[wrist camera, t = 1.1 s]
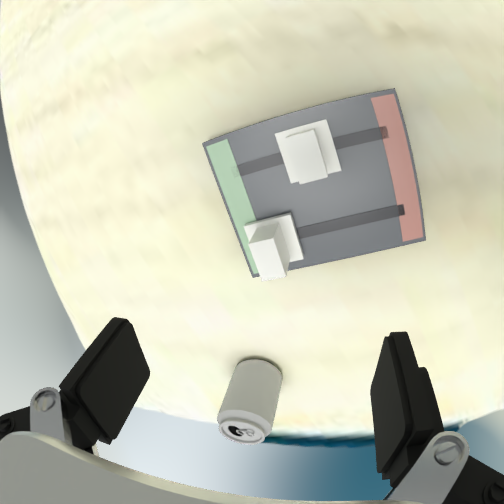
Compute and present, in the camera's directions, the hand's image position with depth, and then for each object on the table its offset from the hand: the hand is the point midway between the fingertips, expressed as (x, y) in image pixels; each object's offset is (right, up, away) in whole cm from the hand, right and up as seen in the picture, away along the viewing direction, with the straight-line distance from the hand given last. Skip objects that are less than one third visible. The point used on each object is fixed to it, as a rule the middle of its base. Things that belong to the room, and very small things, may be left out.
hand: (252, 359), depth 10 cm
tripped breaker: (+5, +13, +17) cm, 22 cm away
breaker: (+2, +5, +22) cm, 23 cm away
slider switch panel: (+7, +11, +20) cm, 24 cm away
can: (+1, -15, +35) cm, 38 cm away
